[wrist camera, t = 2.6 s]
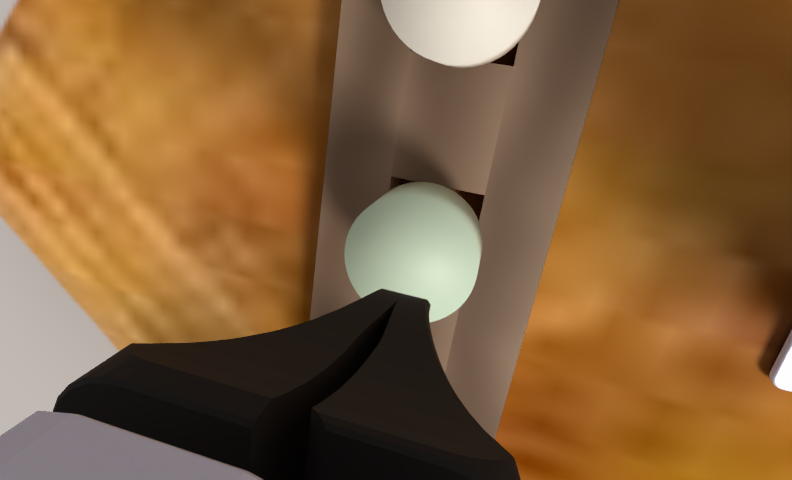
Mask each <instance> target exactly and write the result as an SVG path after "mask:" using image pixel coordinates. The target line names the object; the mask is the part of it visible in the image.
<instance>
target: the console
mask: <svg viewBox="0 0 792 480" xmlns="http://www.w3.org/2000/svg"><path fill="white" fill-rule="evenodd" d="M618 3H619V0H540V3H539V7H538V10H537V13H536V15H535V18H534V20H533V22H532V24H531V26H530V27H529V29H528V31H527V32H526V34H525V35H524V36H523V38H522V39H521V40H520V41H519V44H518V49H517V53H516V58H515V62H514V66H508V65H501V64H495V63H488V64H485V65H482V66H478V67H473V68H454V67H450V66H445V65H443V64H440V63H438V62H435V61H432V60H430V59H427V58H425V57H423V56H421V55H419V54H417V53H416V52H414V51H413V50H412V49H410V48H409V47H408V46H407V45H406V44H405V43H404V42H403V41H402V40H401V39H400V38H399V37H398V36H397V34H396V33H395V32H394V30H393V29H392V27H391V25H390V23H389V22H388V20H387V17H386V15H385V12H384V10H383V6H382V2H381V0H342V2H341V12H340V22H339V32H338V42H337V52H336V62H335V72H334V82H333V92H332V102H331V112H330V122H329V132H328V142H327V152H326V162H325V172H324V182H323V192H322V202H321V212H320V222H319V232H318V242H317V252H316V262H315V272H314V282H313V292H312V302H311V312H310V320H313V319H316V318H318V317H320V316H323V315H325V314H328V313H330V312H333V311H335V310H338V309H340V308H342V307H344V306H346V305H348V304H350V303H353V302H355V301H357V300H359V299H361V297H360V296H359V295H358V294H357V292H356V290H355V289H354V287H353V286H352V283H351V281H350V279H349V277H348V274H347V270H346V266H345V257H344V253H345V243H346V239H347V236H348V233H349V230H350V228H351V226H352V224H353V223H354V221H355V220H356V218H357V217H358V216H359V215H360V214H361V213H362V212H363V211H364V210H365V209H366V208H368V207H369V206H370V205H371V204H373V203H374V202H375V201H377V200H378V199H379V198H380V197H382V196H383V195H384V194H386V193H387V192H388V191H390V190H392V189H393V188H395V187H398V186H399V184H400V178H402V179H407V180H412V181H417V182H430V183H435V184H439V185H442V186H444V187H447V188H451V189H456V190H461V191H466V192H471V193H476V194H480V195H485V196H484V201H483V205H482V210H481V214H480V219H479V223H480V226H481V230H482V236H483V248H482V254H481V259H480V264H479V269H478V274H477V278H476V282H475V285H474V287H473V290H472V292H471V294H470V295H469V297H468V298H467V300H466V301H465V302H464V303H463V304H462V305H461V307H459V308H458V309H457V310H456V311H455V312H453V313H452V314H450V315H448V316H447V317H445V318H442V319H440V320H437V321H434V322H430V329H431V333H432V337H433V342H434V345H435V349H436V352H437V355H438V357H439V360H440V363H441V365H442V368H443V370H444V372H445V374H446V376H447V378H448V380H449V382H450V384H451V386H452V388H453V389H454V391H455V393H456V395H457V396H458V398H459V399H460V400H461V402H462V403H463V405H464V406H465V408H466V409H467V410H468V412H469V413H470V414H471V415H472V416H473V418H474V419H475V420H476V421H477V422H478V423H479V425H480V426H481V427H482V428H483V429H484V430H485V431H486V432H487V433H488V434H489V435H490V436H491V437H492V438H493V439H495V436H496V433H497V429H498V426H499V422H500V419H501V415H502V412H503V408H504V405H505V401H506V398H507V394H508V391H509V387H510V384H511V380H512V377H513V373H514V370H515V366H516V363H517V359H518V355H519V352H520V348H521V345H522V341H523V338H524V334H525V331H526V327H527V324H528V320H529V317H530V313H531V310H532V306H533V303H534V299H535V296H536V292H537V289H538V285H539V281H540V278H541V274H542V271H543V267H544V264H545V260H546V257H547V253H548V250H549V246H550V243H551V239H552V236H553V232H554V229H555V225H556V222H557V218H558V215H559V211H560V208H561V204H562V200H563V197H564V193H565V190H566V186H567V183H568V179H569V176H570V172H571V169H572V165H573V162H574V158H575V155H576V151H577V148H578V144H579V141H580V137H581V134H582V130H583V126H584V123H585V119H586V116H587V112H588V109H589V105H590V102H591V98H592V95H593V91H594V88H595V84H596V81H597V77H598V74H599V70H600V67H601V63H602V60H603V56H604V53H605V49H606V45H607V42H608V38H609V35H610V31H611V28H612V24H613V21H614V17H615V14H616V10H617V7H618Z"/></svg>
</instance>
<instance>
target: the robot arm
mask: <svg viewBox="0 0 792 480" xmlns="http://www.w3.org/2000/svg"><path fill="white" fill-rule="evenodd" d="M430 307H431V305H430V303H429V301H428V300H427V299H422V298H418V297H414V296H410V295H406V294H402V293H398V292H394V291H390V290H386V289H379V290H377V291H375V292H373V293H371V294H369V295H367V296H365V297H363V298H361V299H359V300H357V301H355V302H353V303H350V304H348V305H346V306H344V307H342V308H340V309H338V310H335V311H333V312H330V313H328V314H325V315H323V316H320V317H318V318H316V319H313V320H310V321H308V322H305V323H302V324H298V325H295V326H292V327H288V328H284V329H281V330H277V331H273V332H268V333H263V334H257V335H252V336H247V337H241V338H235V339H227V340H219V341H208V342H196V343H160V344H135V343H132V344H130V345H128V346H127V347H125V348H124V349H122V350H121V351H119V352H118V353H116V354H115V355H113V356H112V357H110V358H109V359H107V360H106V361H104V362H103V363H101V364H100V365H98V366H97V367H95V368H94V369H92V370H90V371H89V372H88V373H86V374H84V375H83V376H81V377H80V378H78V379H77V380H75V381H74V382H72V383H71V384H69V385H68V386H67V387H66V389H65V390H64V391H63V392H62V393H61V394H60V395H59V396H58V398H57V401H56V404H55V407H54V409H53V412H47V411H37V412H35V413H34V414H32V415H31V416H29V417H28V418H26V419H25V420H23V421H22V422H20V423H19V424H17V425H16V426H14V427H13V428H11V429H10V430H8V431H7V432H5V433H4V434H2V435H1V436H0V480H520V476H519V472H518V469H517V465H516V462H515V460H514V458H513V456H512V455H511V454H510V453H509V452H507V451H506V450H505V449H504V448H503V447H502V446H501V445H500V444H499V443H498V442H497V441H496V440H495V439H493V438H492V437H491V436H490V435H489V434H488V433H487V432H486V431H485V430H484V429H483V428H482V427H481V426H480V425H479V423H478V422H477V421H476V420H475V419H474V418H473V416H472V415H471V414H470V413H469V412H468V410H467V409H466V408H465V406H464V405H463V403H462V402H461V400H460V399H459V398H458V396H457V395H456V393H455V391H454V389H453V388H452V386H451V384H450V382H449V380H448V378H447V376H446V374H445V372H444V370H443V368H442V365H441V363H440V360H439V357H438V355H437V352H436V349H435V345H434V342H433V337H432V333H431V329H430V322H429V312H430ZM769 378H770V381H771V382H772V383H773V384H774V385H775V386H776V387H777V388H780V389H782V390H786V391H790V392H792V330H791V332H790V334H789V336H788V338H787V340H786V342H785V344H784V346H783V348H782V350H781V352H780V353H779V355H778V357H777V359H776V361H775V363H774V365H773V367H772V369H771V371H770V374H769Z"/></svg>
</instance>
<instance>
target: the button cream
mask: <svg viewBox="0 0 792 480" xmlns="http://www.w3.org/2000/svg"><path fill="white" fill-rule="evenodd" d="M381 2H382V6H383V10H384V12H385V15H386V17H387V20H388V22H389V23H390V25H391V27H392V29H393V30H394V32H395V33H396V34H397V36H398V37H399V38H400V39H401V40H402V41H403V42H404V43H405V44H406V45H407V46H408V47H409V48H410V49H412V50H413V51H414V52H416V53H417V54H419V55H421V56H423V57H425V58H427V59H430V60H432V61H435V62H438V63H440V64H443V65H445V66H450V67H454V68H473V67H478V66H482V65H485V64H488V63H491V62H493V61H495V60H497V59H499V58H500V57H502V56H503V55H505V54H506V53H508V52H509V51H510V50H511V49H512V48H513V47H515V46H516V44H517V43H518V42H519V41H520V40H521V39H522V38H523V36H524V35H525V34H526V32H527V31H528V29H529V27H530V26H531V24H532V22H533V20H534V18H535V15H536V13H537V10H538V7H539V3H540V0H381Z"/></svg>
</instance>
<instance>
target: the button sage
mask: <svg viewBox="0 0 792 480" xmlns="http://www.w3.org/2000/svg"><path fill="white" fill-rule="evenodd" d="M482 248H483V236H482V230H481V226H480V223H479V221H478V218H477V216H476V214H475V213H474V211H473V209H472V208H471V207H470V205H469V204H468V203H467V202H466V201H465V200H464V199H463V198H462V197H461V196H460V195H458V194H457V193H456V192H454V191H452V190H451V189H449V188H447V187H444V186H442V185H439V184H435V183H430V182H411V183H406V184H403V185H400V186H398V187H395V188H393V189H392V190H390V191H388V192H387V193H386V194H384V195H383V196H382V197H380V198H379V199H378V200H377V201H375V202H374V203H373V204H371V205H370V206H369V207H368V208H366V209H365V210H364V211H363V212H362V213H361V214H360V215H359V216H358V217H357V218H356V220H355V221H354V223H353V224H352V226H351V228H350V230H349V233H348V236H347V239H346V243H345V253H344V257H345V266H346V270H347V274H348V277H349V279H350V281H351V283H352V286H353V287H354V289H355V290H356V292H357V294H358V295H359V296H360V297H361V298H363V297H365V296H367V295H369V294H371V293H373V292H375V291H377V290H379V289H386V290H390V291H394V292H398V293H402V294H406V295H410V296H414V297H418V298H422V299H427V300H428V301H429V303H430V305H431V307H430V312H429V322H434V321H437V320H440V319H442V318H445V317H447V316H448V315H450V314H452V313H453V312H455V311H456V310H457V309H458V308H459V307H461V305H462V304H463V303H464V302H465V301H466V300H467V298H468V297H469V295H470V294H471V292H472V290H473V287H474V285H475V282H476V278H477V274H478V269H479V264H480V259H481V254H482Z"/></svg>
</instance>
